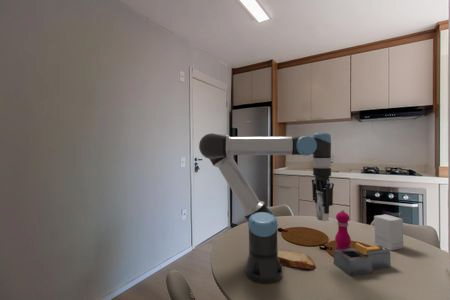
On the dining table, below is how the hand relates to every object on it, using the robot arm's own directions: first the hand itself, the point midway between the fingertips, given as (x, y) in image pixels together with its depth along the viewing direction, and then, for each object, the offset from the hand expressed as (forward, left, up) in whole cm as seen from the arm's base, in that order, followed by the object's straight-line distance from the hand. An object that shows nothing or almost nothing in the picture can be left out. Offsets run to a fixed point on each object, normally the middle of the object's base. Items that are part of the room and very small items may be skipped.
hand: (322, 218), depth 101 cm
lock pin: (+17, -8, -13) cm, 23 cm away
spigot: (0, 0, 0) cm, 0 cm away
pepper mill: (+17, +9, -19) cm, 27 cm away
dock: (+14, -8, -19) cm, 25 cm away
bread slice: (-15, +2, -20) cm, 25 cm away
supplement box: (+42, +7, -19) cm, 47 cm away
